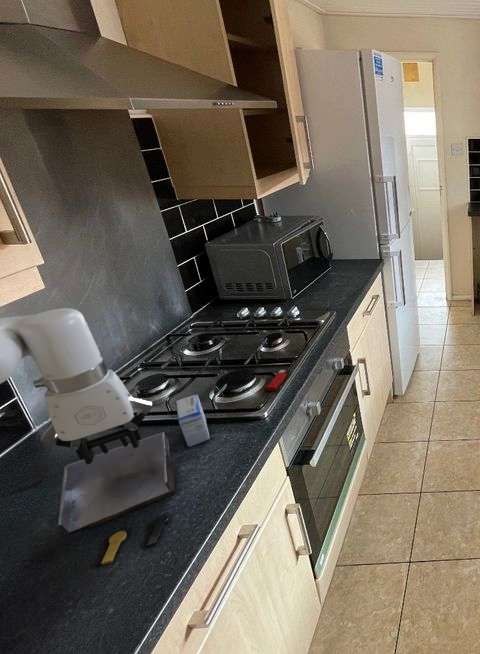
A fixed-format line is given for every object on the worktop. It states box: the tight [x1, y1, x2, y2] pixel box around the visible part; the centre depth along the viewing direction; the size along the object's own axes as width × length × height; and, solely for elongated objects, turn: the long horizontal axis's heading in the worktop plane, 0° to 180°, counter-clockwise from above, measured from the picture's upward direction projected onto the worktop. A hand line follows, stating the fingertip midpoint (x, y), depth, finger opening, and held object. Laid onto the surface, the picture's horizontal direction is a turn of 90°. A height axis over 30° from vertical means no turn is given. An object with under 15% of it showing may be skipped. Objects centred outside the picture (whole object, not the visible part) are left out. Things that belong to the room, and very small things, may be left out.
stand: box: [87, 459, 176, 529], centre depth 84 cm, size 13×7×5 cm, turn 127°
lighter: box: [265, 369, 289, 392], centre depth 119 cm, size 3×1×8 cm
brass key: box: [100, 530, 128, 566], centre depth 76 cm, size 2×6×1 cm, turn 23°
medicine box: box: [175, 394, 211, 448], centre depth 99 cm, size 8×4×9 cm, turn 40°
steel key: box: [146, 514, 170, 547], centre depth 79 cm, size 2×6×1 cm, turn 21°
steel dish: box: [57, 427, 172, 535], centre depth 79 cm, size 15×13×8 cm
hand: (114, 450), depth 81 cm, fingers closed on steel dish, 6 cm apart
